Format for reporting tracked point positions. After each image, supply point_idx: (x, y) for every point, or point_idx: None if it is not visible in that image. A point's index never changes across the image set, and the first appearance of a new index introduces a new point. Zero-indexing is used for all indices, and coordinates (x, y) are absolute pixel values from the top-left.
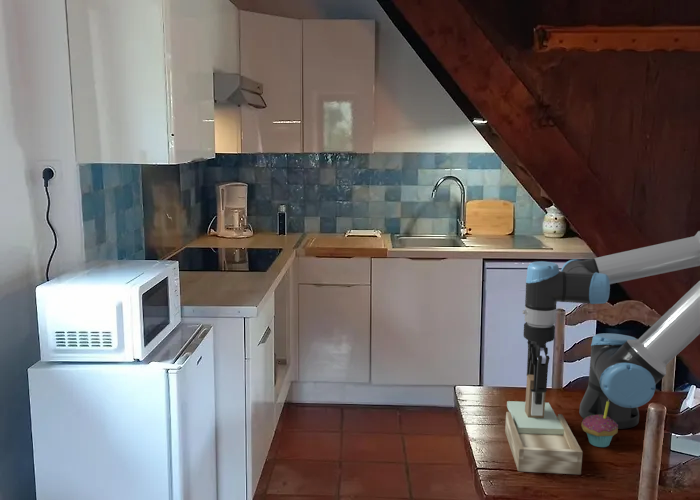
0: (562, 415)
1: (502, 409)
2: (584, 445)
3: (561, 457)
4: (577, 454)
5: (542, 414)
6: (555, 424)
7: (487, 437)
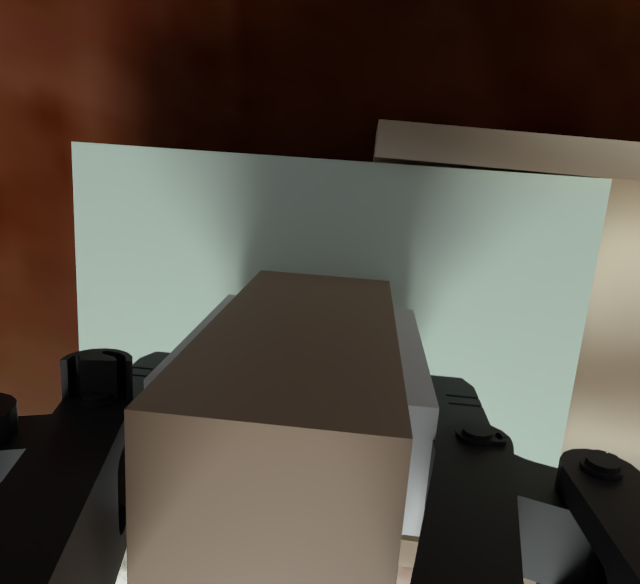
0: (405, 123)
1: (25, 400)
2: (551, 4)
3: None
4: None
5: (412, 312)
6: (516, 223)
7: (409, 576)
